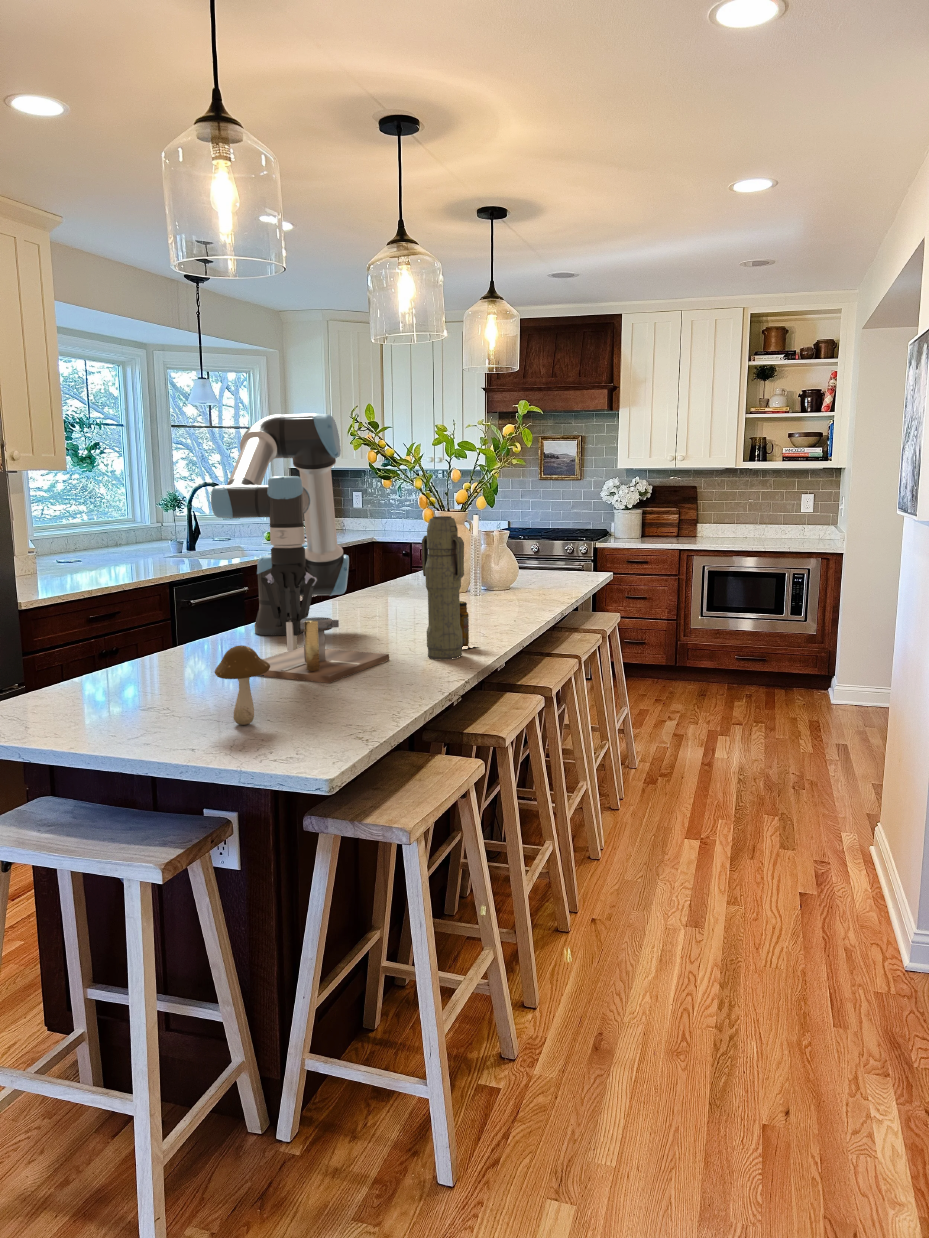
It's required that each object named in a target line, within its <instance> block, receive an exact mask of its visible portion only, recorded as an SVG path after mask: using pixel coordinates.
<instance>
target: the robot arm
mask: <svg viewBox="0 0 929 1238" xmlns="http://www.w3.org/2000/svg"><path fill="white" fill-rule="evenodd" d="M338 429H339V428H338V426H337V423H336V420H335V419H334V417H333V416H332V415H331V414H328V413H317V412H314V413H312V412H311V413H290V414H289V413H288V414H285V413H284V414H283V413H277V414H271V415H269V416H266V417H264V418H261V419H260V420H257V421H256V422H255V423H254V424H252V425H251V426H249V428H247V430H246V431H245V432H244V433H243V436H241V437H242V438H241V439H240V441H239V442H240V443H239V451H240V452H239V456H238V457H237V460H236V462H235V464H234V467H233V470H232V471H231V475H230V477H229V479H228V482H227V484H226V485H225V484H222V485H216V486H213V487H212V489H211V494H210V504H211V510H212V513H213V515H214V516H215V517H217V518H218V519H219V518H220V519H221V518H222V519H231V520H233V519H252V518H254V519H255V518H269V535H270V536H269V537H270V538H269V539H270V545H271V546H273V547H271V548H270V554H267V555H263V556H261V557H259V558H258V560H257V565H256V566H257V569H256V575H257V586H258V587H257V588H258V603H259V607H258V611H257V614H256V618H255V623H254V633H255V634H257V635H260V636H286V649H287V651H286V652H288V651H294V650H296V649H297V648H299V647H298V636H300V635H301V633H302V632H301V629H300V621H301V620H302V619H304V618H309V613H310V607H311V602H312V597H313V596H329V597H332V596H336V595H343V594H345V592H346V591H347V586H348V578H349V569H350V568H349V567H350V557H349V555H347V554H344V549H343V547H341V546H340V545H338V537H337V527H336V526H337V524H336V516H335V515H336V513H335V502H334V493H333V491H334V489H333V488H334V487H333V479H332V477H333V476H332V468H333V467H334V466H335V465H336V463H337V462H336V459H337V458H340V457H341V452H342V451H341V442H340V441H341V440H340V435H339V430H338ZM275 459H292V465H293V467H294V468H295V469H297V470H298V471H299V476H298V475H297V476H296V475H292V476H291V475H290V476H289V475H286V476H283V475H281V476H270V477H269V478H268V479H267V484H263V481H264V479H265V476H266V472H267V470H268V467H269V464H270V463H272V462H273V461H274V460H275ZM305 535H306V536H305ZM305 537H306V541H305ZM305 542H306V545H307V546H306V547H305V546H303V545H304V544H305ZM301 596H302V600H301Z"/></svg>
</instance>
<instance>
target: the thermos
mask: <svg viewBox="0 0 929 1238" xmlns="http://www.w3.org/2000/svg"><path fill="white" fill-rule="evenodd" d="M458 529H459V528H458V525H457V523H456V520H455V517H452V516H448V515H447V516H446V515H445V516H444V515H443V516H441V515H439V516H432V518H429V520H428V525H427V527H426V535H424V536H423V538H422V540H421V556H422V558H421V559H422V560H421V561H422V562H421V565H422V575H423V577H425V588H426V590H427V614H428V619H427V620H428V626H427V628H426V648H427V657H429V658H428V659H430V658H432V659H431V660H435V659H452V658H457V657H459V656H461V655H462V656H463V650H462V646H463V644H462V629H461V626H460V599H461V598H460V590H461V588H462V578H463V577H464V576H465V568H464V567H465V541H464V539H463V538H462V536H459V532H458V531H459V530H458ZM452 660H453V659H452Z"/></svg>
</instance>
